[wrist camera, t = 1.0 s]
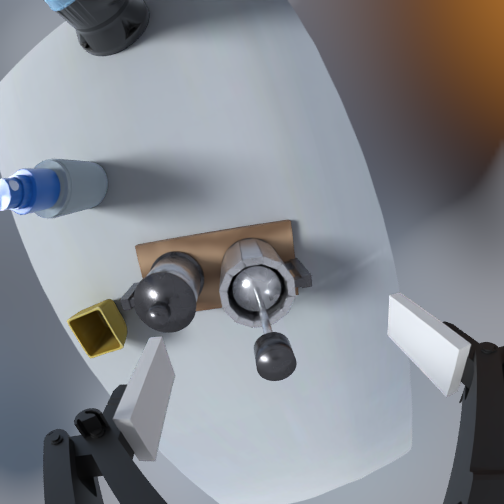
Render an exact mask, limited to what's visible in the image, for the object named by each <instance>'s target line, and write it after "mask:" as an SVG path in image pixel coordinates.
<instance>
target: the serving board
mask: <svg viewBox="0 0 504 504" xmlns="http://www.w3.org/2000/svg"><path fill="white" fill-rule="evenodd" d="M250 237H251V238H259V239H262V240H264V241H266V242H268V243H269V244H270V245H272V246H273V248H274V249H275V250H276V252H277V253H278V255H279V256H280V258H281V259H282V261H283V262H286V261H289V259H294V258H295V254H294V245H293V237H292V228H291V221H290V220H283V221H276V222H269V223H263V224H256V225H250V226H244V227H237V228H231V229H225V230H219V231H213V232H207V233H201V234H195V235H189V236H183V237H177V238H171V239H166V240H160V241H154V242H149V243H143V244H138V245H136V246H135V248H136V253H137V257H138V261H139V265H140V269H141V273H142V277H143V278H145V277H146V276H147V275H148V274H149V272H150V269H151V267H152V265H153V263H154V262H155V261H156V259H157V258H158V257H160V256H161V255H162V254H164V253H167V252H170V251H181V252H185V253H187V254H189V255H191V256H192V257H194V258H195V259H196V260H197V261H198V262H199V264H200V265H201V267H202V270H203V273H204V285H203V289H202V291H201V293H200V295H199V296H198V298H197V302H196V304H197V306H196V311H201V310H208V309H215V308H222V303H221V298H220V293H219V287H220V274H221V264H222V259H223V256H224V254H225V252H226V251H227V249H228V248H229V247H230V246H231V245H232V244H233V243H235V242H236V241H238V240H241V239H244V238H250ZM289 272H290V273H291V275H292V276H293V277H295V276H294V274H293V273H292V271H291V270H289ZM295 293H296V295H299V294H298V287H296V288H295Z"/></svg>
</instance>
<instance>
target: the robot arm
mask: <svg viewBox="0 0 504 504" xmlns="http://www.w3.org/2000/svg"><path fill="white" fill-rule="evenodd" d="M45 1H46V3H47V4H48V5H49V6H50V8H51V9H52V10H53V11H55V12H57V13H58V14H59V15H60V16H61V17H62V18H64V19H65V20H66V21H67V22H68V23H69V24H70V25H72V26H73V27H74V28H75V29H76V33H77V37H78V40H79V43H80V45H81V46H82V47H83V48H84V49H85V50H86V51H87V52H88V53H90V54H92V55H96V56H106V55H111V54H114V53H117V52H119V51H121V50H123V49H125V48H127V47H128V46H130V45H131V44H132V43H134V42H135V41H136V40H137V39H138V38H139V37H140V36H141V34H142V33H143V32H144V30H145V28H146V27H147V24H148V21H149V10H148V8H147V6H146V4H145V2H144V1H143V0H45ZM387 335H388V336H389V337H390V338H391V339H392V340H393V341H394V342H395V343H396V344H397V345H398V346H399V348H400V349H401V350H402V351H403V352H404V353H405V354H406V355H407V356H408V357H409V358H410V359H411V360H412V361H413V362H414V363H415V364H416V365H417V366H418V367H419V369H420V370H421V371H422V372H423V373H424V374H425V375H426V376H427V377H428V378H429V379H430V380H431V381H432V382H433V383H434V385H435V386H436V387H437V388H438V389H439V390H440V391H441V392H442V393H443V394H444V395H445V397H448V396H450V395H452V394H454V393H456V392H457V391H458V389H459V386H460V383H461V382H462V383H463V384H464V385H465V388H464V391H463V394H462V396H461V399H460V403H461V402H462V412H461V421H460V429H459V436H458V442H457V448H456V453H455V458H454V463H453V468H452V472H451V476H450V480H449V485H448V488H447V492H446V496H445V499H444V502H443V504H504V346H503V347H498V346H496V345H495V344H493V343H490V342H483V343H480V344H479V343H478V342H476V341H475V340H474V339H472V338H471V337H470V336H468V335H467V334H466V333H464V332H463V331H461V330H459V328H457V327H456V326H454V325H453V324H451V323H448V322H441V321H439V320H438V319H437V318H435V317H434V316H432V315H431V314H430V313H428V312H427V311H425V310H424V309H423V308H421V307H420V306H418V305H417V304H416V303H414V302H413V301H411V300H410V299H409V298H407V297H406V296H404V295H403V294H402V293H400V292H399V293H396V294H392V295H389V318H388V334H387ZM174 378H175V373H174V370H173V368H172V365H171V362H170V359H169V356H168V353H167V350H166V347H165V344H164V341H163V337H162V336H160V337H150V338H149V340H148V342H147V344H146V346H145V348H144V350H143V352H142V354H141V357H140V359H139V361H138V363H137V365H136V367H135V370H134V372H133V374H132V376H131V378H130V381H129V383H128V385H119V386H118V387H117V388H116V389H115V390H114V391H113V393H112V395H111V397H110V400H109V401H108V405H106V408H105V410H104V412H103V414H102V412H100V411H99V410H98V409H94V408H92V409H86V410H84V411H82V412H80V413H79V414H78V415H77V416H76V418H75V420H74V423H75V426H76V427H77V429H78V430H79V432H80V433H81V435H79V436H73V437H70V436H69V435H68V433H67V432H66V431H64V430H61V429H56V430H53V431H51V432H50V433H49V434H47V435H46V437H45V440H44V455H43V469H44V470H43V471H44V497H45V504H104V503H103V499H102V495H101V491H100V486H99V482H98V477H97V476H104V478H105V480H106V481H107V483H108V485H109V486H110V488H111V490H112V491H113V493H114V495H115V496H116V498H117V499H118V501H119V502H120V504H167V503H166V502H165V500H164V499H163V498H162V497H161V496H160V495H159V494H158V492H157V491H156V490H155V489H154V487H153V486H152V485H151V484H150V483H149V481H148V480H147V479H146V477H145V476H144V475H143V474H142V472H141V471H140V470H139V468H138V467H137V466H136V464H135V463H134V462H133V460H132V459H133V456H134V454H135V455H136V456H137V458H138V459H139V460H140V461H155V460H156V456H157V451H158V447H159V442H160V438H161V433H162V429H163V424H164V420H165V416H166V411H167V407H168V403H169V399H170V395H171V391H172V386H173V382H174ZM462 400H463V401H462Z"/></svg>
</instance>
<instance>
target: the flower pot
mask: <svg viewBox="0 0 504 504" xmlns="http://www.w3.org/2000/svg"><path fill="white" fill-rule="evenodd" d="M103 317H104V318H103ZM67 323H68V325H69V327H70V328H71V330H72V331H73V333H74V335H75V336H76V338H77V339H78V341H79V343H80V344H81V346H82V348H83V349H84V351H85V352H86V354H87V355H88V356H89V357H90V358H94V357H97V356H100V355H103V354H106V353H109V352H113V351H116V350H119V349H122V348H123V347H124V343H125V340H126V337H127V326H126V323H125V321H124V319H123V317H122V315H121V314H120V312H119V310H118V308H117V306H116V304H115V303H114V301H113V300H111V299H107V300H105V301H103V302H100V303H98V304H96V305H93V306H91V307H89V308H86V309H84V310H81V311H80V312H78V313H77V314H75V315H74V316H72V317H71V318H69V319H68V320H67Z"/></svg>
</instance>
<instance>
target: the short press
mask: <svg viewBox="0 0 504 504" xmlns="http://www.w3.org/2000/svg"><path fill="white" fill-rule="evenodd" d="M203 285H204V273H203V270H202V267H201V265H200V264H199V262H198V261H197V260H196V259H195V258H194V257H192V256H191V255H189V254H187V253H185V252H181V251H170V252H167V253H164V254H162V255H161V256H160V257H158V258H157V259H156V261H155V262H154V263H153V265H152V267H151V269H150V272H149V274H148V275H147V276H146V277H145V278H143V279H142V280H141V281H140V282H139V283H134V284H133V285H132V286H131V287H130V289H129V290H128V291H127V292H126V293H125V294H124V296H123V297H122V298H121V299H120V301H121V304H122V308H123V310H130V309H132V307H135V310H136V312H137V314H138V316H139V317H140V319H141V320H142V321H143V322H144V323H145V324H146V325H148V326H149V327H151V328H152V329H155V330H157V331H161V332H176V331H179V330H182V329H183V328H185V327H186V326H188V325H189V324H190V322H191V321H192V320H193V318H194V316H195V312H196V306H197V304H196V302H197V298H198V296H199V295H200V293H201V291H202V289H203Z"/></svg>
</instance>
